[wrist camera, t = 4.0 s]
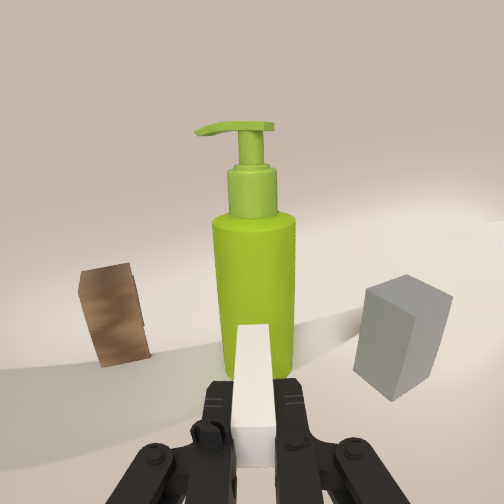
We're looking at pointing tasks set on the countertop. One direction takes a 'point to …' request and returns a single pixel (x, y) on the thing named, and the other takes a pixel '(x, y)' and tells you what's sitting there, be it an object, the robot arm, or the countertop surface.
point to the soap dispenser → (254, 251)
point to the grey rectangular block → (400, 334)
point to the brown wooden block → (113, 314)
